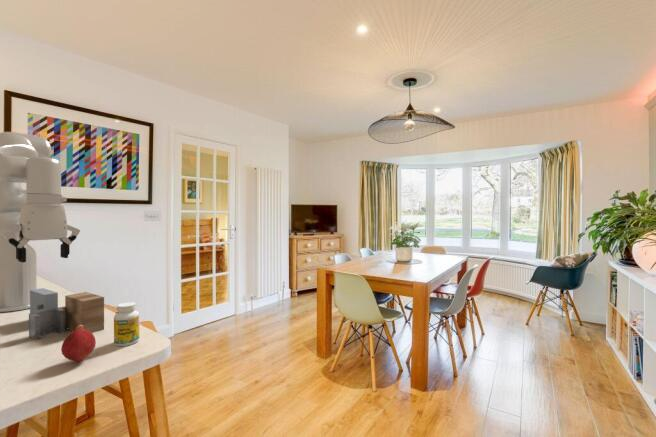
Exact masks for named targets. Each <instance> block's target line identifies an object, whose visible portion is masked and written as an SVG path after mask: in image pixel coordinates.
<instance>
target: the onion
mask: <svg viewBox="0 0 656 437" xmlns="http://www.w3.org/2000/svg"><path fill="white" fill-rule="evenodd" d="M96 343H97V342H96V337H95V335H94V333H91V332H89V331H87V330H85V329H83V325H79V326H78V327H77V328H76V329H75V330H74V331H71V332H70V333H68V335H67V336H65V338H64V340H63V342H62V345H61V349H60V350H61V354H62V356H63V357H64V358H65V359H67V360H70V361H72V362H76V363H82V362H83V361H84V360H85V359H86V358H87V357H89V355H91V354H92V352H93V351H94V350H95V348H96Z"/></svg>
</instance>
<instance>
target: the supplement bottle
mask: <svg viewBox="0 0 656 437" xmlns="http://www.w3.org/2000/svg"><path fill="white" fill-rule="evenodd" d="M136 309H137V304H136V302H133V301H131V302H130V301H128V302H127V301H126V302H122V303H119V304H117V305H116V311H117V312H116V313H115V314H114V316H113V344H114V346H115V347H129V346H131V345H133V344H136V343H138V342H139V341H140V312H139V311H138V310H136Z"/></svg>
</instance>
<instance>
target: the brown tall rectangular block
mask: <svg viewBox="0 0 656 437" xmlns="http://www.w3.org/2000/svg"><path fill="white" fill-rule="evenodd" d="M64 296H65V299H64V301H65V303H64V304H65V307H67V329H66V330H69V331H71V332H72V331H74V330H75V329H76V328H77V327H78V326H79V325H83V329H85V330H87V331H89V332H91V333H92V334H94V333H96V332H100V331H103V330H105V296H102V295H100V294H99V295H98V294H94V293H92V292H87V291H85V292H79V293H74V294H73V293H72V294H68V295H64Z"/></svg>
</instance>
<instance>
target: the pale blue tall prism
mask: <svg viewBox="0 0 656 437" xmlns="http://www.w3.org/2000/svg"><path fill="white" fill-rule="evenodd" d="M58 299H59V293H58V292H57V291H54V290H50V289H47V288H43V287H42V288H37V289H34V290H30V308H29V314H30V313H35V312H40V311H44V310H49V309H54V308H59V300H58Z"/></svg>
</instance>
